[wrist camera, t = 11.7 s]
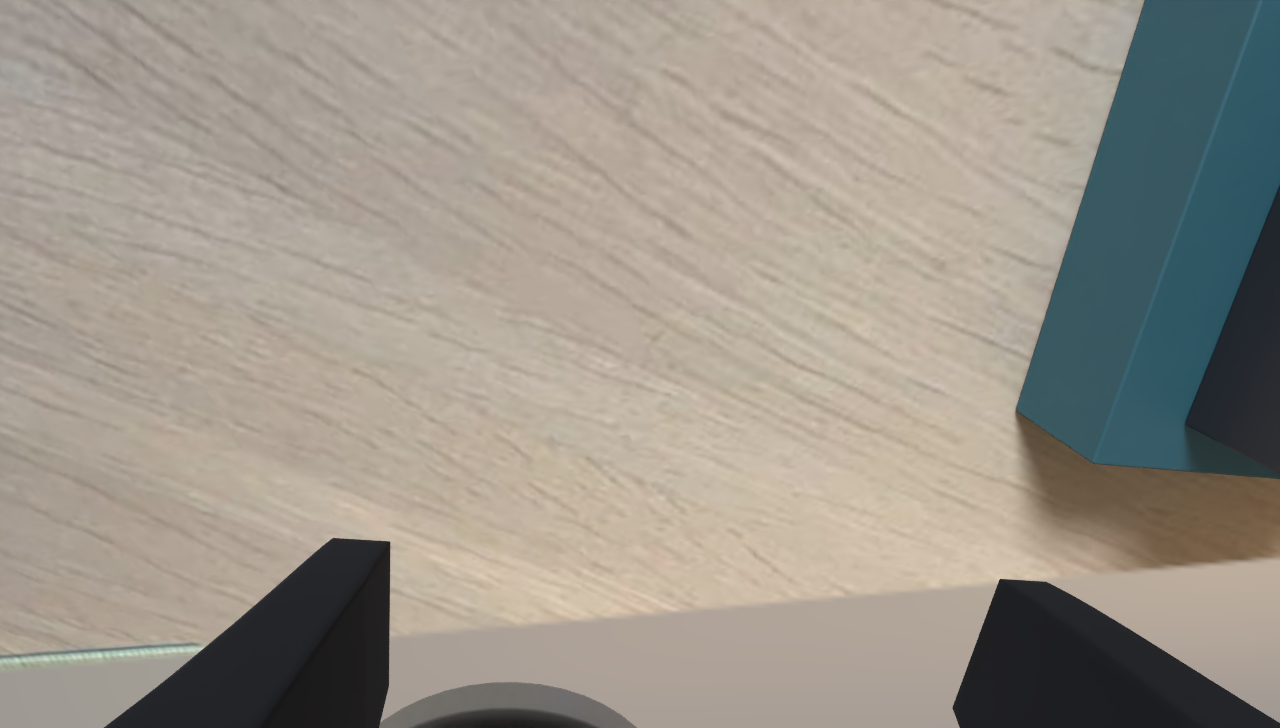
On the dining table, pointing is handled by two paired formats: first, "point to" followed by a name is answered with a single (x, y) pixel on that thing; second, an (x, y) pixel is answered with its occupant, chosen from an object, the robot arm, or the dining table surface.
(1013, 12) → the dining table surface
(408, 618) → the dining table surface
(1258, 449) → the remote
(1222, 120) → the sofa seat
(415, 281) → the dining table surface
